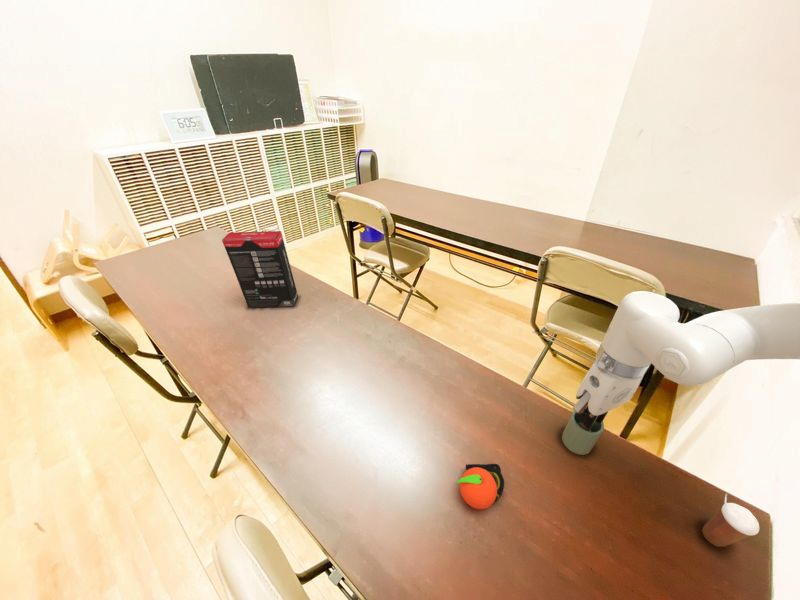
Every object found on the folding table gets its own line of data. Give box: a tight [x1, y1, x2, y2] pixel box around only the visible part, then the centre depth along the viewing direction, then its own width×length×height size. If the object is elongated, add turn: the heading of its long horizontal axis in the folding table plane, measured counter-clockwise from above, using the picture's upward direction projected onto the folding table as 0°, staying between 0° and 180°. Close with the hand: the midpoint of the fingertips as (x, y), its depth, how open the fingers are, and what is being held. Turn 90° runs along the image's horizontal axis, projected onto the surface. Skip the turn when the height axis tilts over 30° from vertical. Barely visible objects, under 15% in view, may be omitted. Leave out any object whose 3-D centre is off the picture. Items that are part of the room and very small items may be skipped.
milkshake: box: [701, 493, 760, 548], centre depth 54 cm, size 5×5×10 cm
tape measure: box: [465, 463, 505, 503], centre depth 64 cm, size 7×7×4 cm
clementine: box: [454, 467, 497, 510], centre depth 61 cm, size 8×7×7 cm
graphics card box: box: [221, 230, 299, 309], centre depth 109 cm, size 17×7×27 cm, turn 92°
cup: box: [561, 410, 605, 456], centre depth 69 cm, size 6×6×8 cm
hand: (588, 419), depth 66 cm, fingers closed
